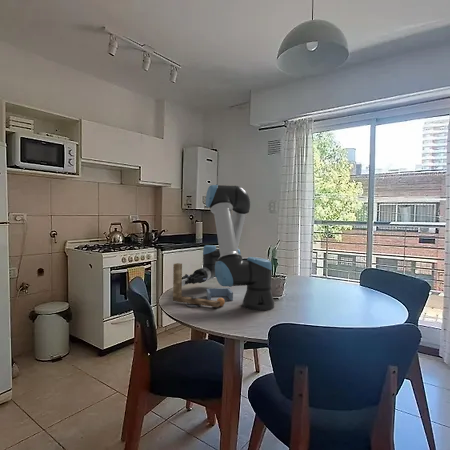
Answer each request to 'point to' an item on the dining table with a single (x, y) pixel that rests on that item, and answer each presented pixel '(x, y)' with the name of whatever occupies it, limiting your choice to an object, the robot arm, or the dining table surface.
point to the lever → (178, 290)
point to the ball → (221, 301)
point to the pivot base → (192, 305)
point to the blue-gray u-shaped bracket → (219, 292)
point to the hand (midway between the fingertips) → (180, 283)
